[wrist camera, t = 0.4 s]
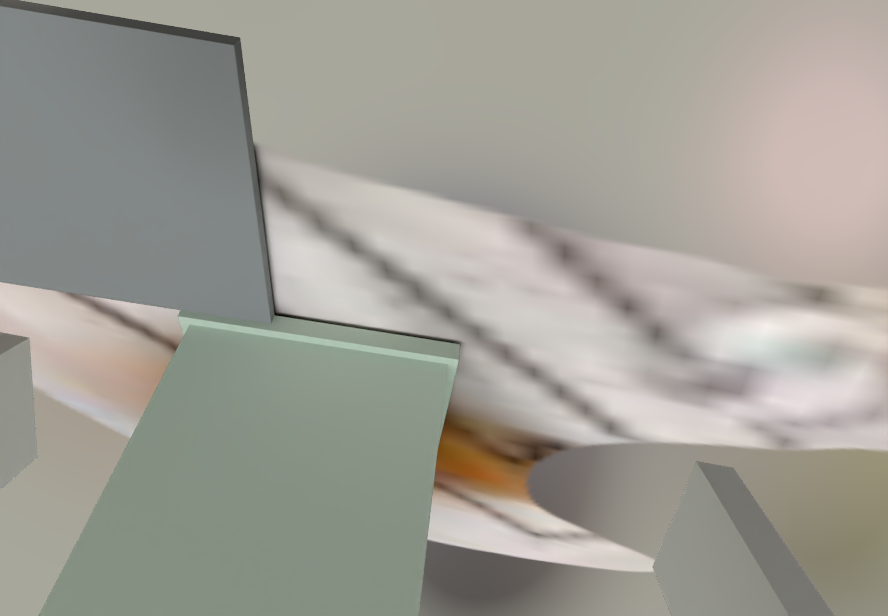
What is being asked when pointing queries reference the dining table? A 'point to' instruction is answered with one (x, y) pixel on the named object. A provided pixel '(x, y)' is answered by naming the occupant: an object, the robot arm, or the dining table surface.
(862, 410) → the dining table surface
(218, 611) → the stand
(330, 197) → the dining table surface
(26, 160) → the mat
